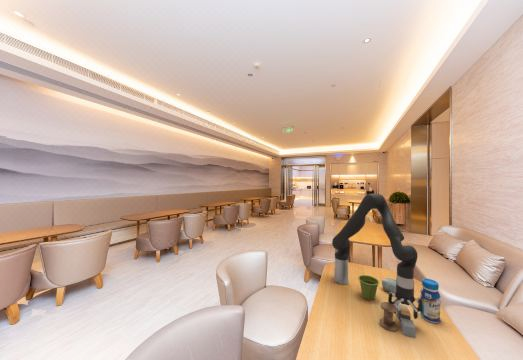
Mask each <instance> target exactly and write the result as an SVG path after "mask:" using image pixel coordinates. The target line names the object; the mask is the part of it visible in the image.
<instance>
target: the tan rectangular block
mask: <svg viewBox="0 0 523 360" xmlns="http://www.w3.org/2000/svg"><path fill="white" fill-rule="evenodd" d="M411 316H412V315H411V311H410V309H409V308H408V309H405V308H401V307H400V317H402V318H405V319H409V320H412V318H411Z"/></svg>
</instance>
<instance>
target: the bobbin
mask: <svg viewBox="0 0 523 360" xmlns="http://www.w3.org/2000/svg"><path fill="white" fill-rule="evenodd" d="M379 306H380V308H381V309H382V310H383V317H381V318H379V319H378V320H379V321H378V322H379V323H378V324H379V325H380V327H382V328H383V329H384V330H385V331H389V332H396V331H398V330H399V327H398V324H397V323H396V322H395V321H394V314H395V313H394V312H396V311H397V308H396V306H394V305H393V304H391V303H389V302H388V301H381V302H380V304H379ZM396 313H397V312H396Z"/></svg>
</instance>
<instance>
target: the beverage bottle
mask: <svg viewBox="0 0 523 360" xmlns="http://www.w3.org/2000/svg"><path fill="white" fill-rule="evenodd" d="M421 282H422V283H421V285H422V287H421V289H420V294H419V298H421V300H422V309H423V312H420V316H421V318H422V319H424V320H425V321H427V322H430V323H432V324H433V323H434V324H439V323H440V322H441V303H442V301H441V294H440V292H439V287H440V285H439V282H437V281H436V280H434V279H431V278H422V280H421Z"/></svg>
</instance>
